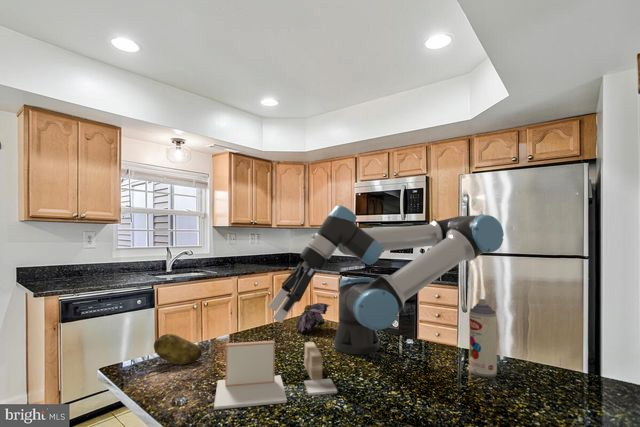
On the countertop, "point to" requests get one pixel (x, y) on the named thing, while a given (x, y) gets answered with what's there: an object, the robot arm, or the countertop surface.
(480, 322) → the aerosol can
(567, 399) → the countertop surface
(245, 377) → the tile
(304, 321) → the decorative flower
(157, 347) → the potato
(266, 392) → the mat
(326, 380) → the scraper
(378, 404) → the countertop surface
